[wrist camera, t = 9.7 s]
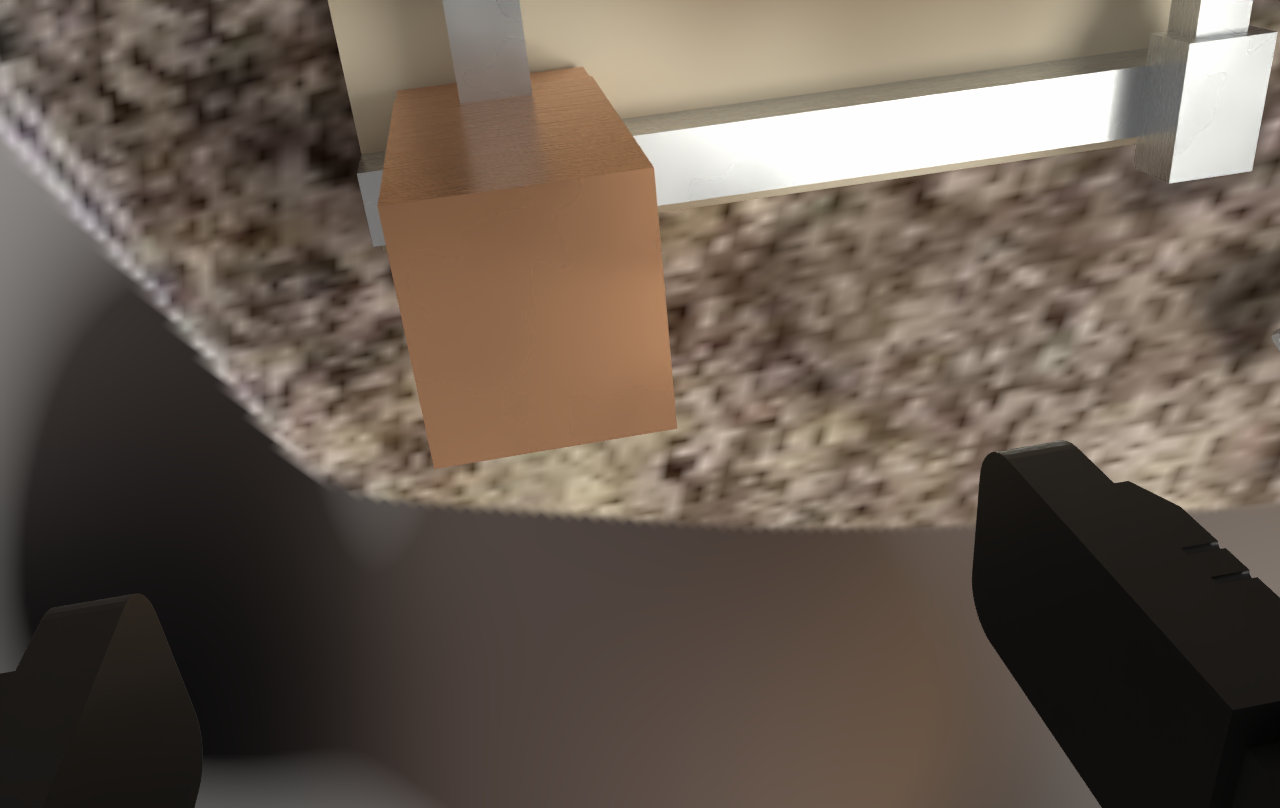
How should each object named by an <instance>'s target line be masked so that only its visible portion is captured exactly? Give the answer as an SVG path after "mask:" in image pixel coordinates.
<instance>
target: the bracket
mask: <svg viewBox="0 0 1280 808" xmlns="http://www.w3.org/2000/svg"><path fill="white" fill-rule="evenodd" d="M1271 338H1272V341H1273V343H1274V344H1275V346H1276V347H1277V348H1278V350H1279V351H1280V329H1278V330H1276V331H1275V332H1274V333H1273V335H1272V337H1271Z"/></svg>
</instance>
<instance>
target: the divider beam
mask: <svg viewBox="0 0 1280 808" xmlns="http://www.w3.org/2000/svg"><path fill="white" fill-rule="evenodd" d="M1252 3H1253V0H1172V2H1171V9H1170V16H1169V24H1168V31H1165V32H1157V33H1151V34H1150V42H1149V48H1145V49H1137V50H1130V51H1123V52H1115V53H1108V54H1100V55H1093V56H1085V57H1078V58H1071V59H1063V60H1056V61H1048V62H1041V63H1033V64H1026V65H1019V66H1011V67H1004V68H996V69H989V70H982V71H974V72H967V73H959V74H952V75H944V76H937V77H930V78H922V79H915V80H907V81H900V82H892V83H885V84H878V85H870V86H863V87H855V88H848V89H841V90H833V91H826V92H818V93H811V94H803V95H796V96H789V97H781V98H774V99H766V100H759V101H751V102H744V103H737V104H729V105H722V106H714V107H707V108H700V109H692V110H685V111H677V112H670V113H662V114H655V115H648V116H640V117H633V118H625V119H622V121H623V122H624V124H625V125H626V127H627V128H628V130H629V131H630V133H631V134H632V136H633V137H634V139H635V140H636V142H637V143H638V145H639V146H640V147H641V149H642V150H643V152H644V153H645V155H646V156H647V158H648V159H649V161H650V162H651V164H652V165H653V167H654V171H655V183H656V194H657V206H661V205H668V204H675V203H682V202H689V201H696V200H703V199H710V198H716V197H723V196H730V195H737V194H744V193H751V192H758V191H765V190H772V189H779V188H786V187H793V186H800V185H807V184H814V183H821V182H828V181H835V180H842V179H848V178H855V177H862V176H869V175H876V174H883V173H890V172H897V171H904V170H911V169H918V168H925V167H932V166H939V165H946V164H953V163H960V162H967V161H974V160H980V159H987V158H994V157H1001V156H1008V155H1015V154H1022V153H1029V152H1036V151H1043V150H1050V149H1057V148H1064V147H1071V146H1078V145H1085V144H1092V143H1099V142H1106V141H1112V140H1119V139H1126V138H1133V137H1137V141H1136V149H1135V156H1134V164H1133V167H1135V168H1137V169H1139V170H1141V171H1144V172H1146V173H1148V174H1150V175H1152V176H1154V177H1156V178H1159V179H1161V180H1163V181H1165V182H1167V183H1175V182H1181V181H1188V180H1195V179H1201V178H1208V177H1215V176H1222V175H1228V174H1235V173H1242V172H1248V171H1252V167H1253V162H1254V157H1255V151H1256V146H1257V141H1258V135H1259V130H1260V124H1261V119H1262V114H1263V108H1264V103H1265V97H1266V92H1267V87H1268V81H1269V76H1270V70H1271V65H1272V60H1273V54H1274V49H1275V43H1276V38H1277V33H1278V32H1276V31H1271V30H1267V29H1262V28H1258V27H1253V26H1249V20H1250V14H1251V9H1252ZM385 155H386V151H380V152H373V153H366V154H361V158H360V162H359V167H358V171H357V177H358V181H359V186H360V190H361V195H362V199H363V204H364V208H365V212H366V217H367V221H368V226H369V230H370V235H371V239H372V244H373V247H376V246H383V245H386V243H385V239H384V234H383V230H382V225H381V220H380V216H379V211H378V207H377V206H378V200H379V193H380V187H381V180H382V174H383V168H384V161H385Z"/></svg>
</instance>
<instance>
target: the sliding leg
mask: <svg viewBox="0 0 1280 808" xmlns="http://www.w3.org/2000/svg"><path fill="white" fill-rule="evenodd" d="M442 1H443V7H444V12H445V18H446V24H447V30H448V36H449V42H450V48H451V53H452V59H453V65H454V71H455V77H456V83H452V84H444V85H437V86H429V87H421V88H413V89H406V90H398V91H397V95H396V102H394V103H393V110H392V116H391V123H390V129H389V135H388V142H387V148H386V155H385V161H384V168H383V174H382V180H381V187H380V193H379V200H378V206H377V207H378V211H379V216H380V220H381V225H382V230H383V234H384V239H385V243H386V248H387V253H388V257H389V262H390V266H391V271H392V276H393V280H394V285H395V289H396V294H397V299H398V303H399V308H400V312H401V317H402V322H403V326H404V331H405V335H406V340H407V345H408V349H409V354H410V358H411V363H412V368H413V372H414V377H415V381H416V386H417V391H418V395H419V400H420V404H421V409H422V414H423V418H424V423H425V427H426V432H427V437H428V441H429V446H430V450H431V455H432V460H433V464H434V469H437V468H443V467H449V466H455V465H461V464H467V463H473V462H479V461H485V460H491V459H497V458H503V457H509V456H515V455H521V454H527V453H533V452H539V451H545V450H551V449H557V448H563V447H569V446H575V445H581V444H587V443H593V442H599V441H605V440H611V439H617V438H623V437H629V436H635V435H641V434H647V433H653V432H659V431H665V430H671V429H677V423H676V412H675V400H674V389H673V377H672V366H671V354H670V343H669V332H668V320H667V309H666V297H665V286H664V274H663V263H662V251H661V240H660V229H659V217H658V206H657V194H656V183H655V171H654V167H653V165H652V164H651V162H650V161H649V159H648V158H647V156H646V155H645V153H644V152H643V150H642V149H641V147H640V146H639V145H638V143H637V142H636V140H635V139H634V137H633V136H632V134H631V133H630V131H629V130H628V128H627V127H626V125H625V124H624V122H623V121H622V119H621V118H620V116H619V115H618V113H617V112H616V111H615V109H614V108H613V106H612V105H611V103H610V102H609V100H608V99H607V97H606V96H605V94H604V93H603V91H602V90H601V88H600V87H599V85H598V84H597V82H596V81H595V80H594V78H593V77H592V76H589V75H588V73H587V72H586V70H585V69H584V67H576V68H568V69H561V70H553V71H545V72H537V73H529V66H528V58H527V51H526V44H525V37H524V30H523V22H522V15H521V8H520V1H519V0H442Z"/></svg>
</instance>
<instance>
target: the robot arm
mask: <svg viewBox="0 0 1280 808" xmlns="http://www.w3.org/2000/svg"><path fill="white" fill-rule="evenodd" d="M972 589H973V597H974V602H975V606H976V610H977V614H978V617H979V620H980V623H981V625H982V628H983V630H984V632H985V634H986V636H987V638H988V640H989V641H990V643H991V644H992V646H993V647H994V649H995V650H996V652H997V653H998V655H999V656H1000V658H1001V659H1002V661H1003V662H1004V663H1005V665H1006V667H1007V668H1008V669H1009V671H1010V672H1011V674H1012V675H1013V677H1014V678H1015V680H1016V681H1017V683H1018V684H1019V686H1020V687H1021V688H1022V690H1023V692H1024V693H1025V695H1026V696H1027V698H1028V699H1029V701H1030V702H1031V704H1032V705H1033V706H1034V708H1035V709H1036V711H1037V712H1038V714H1039V715H1040V717H1041V718H1042V720H1043V721H1044V723H1045V724H1046V726H1047V727H1048V728H1049V730H1050V732H1051V733H1052V734H1053V736H1054V737H1055V739H1056V740H1057V742H1058V743H1059V745H1060V746H1061V748H1062V749H1063V751H1064V752H1065V754H1066V755H1067V757H1068V758H1069V760H1070V761H1071V763H1072V764H1073V766H1074V767H1075V769H1076V770H1077V771H1078V773H1079V775H1080V776H1081V777H1082V779H1083V780H1084V782H1085V783H1086V785H1087V786H1088V788H1089V789H1090V791H1091V792H1092V794H1093V795H1094V797H1095V798H1096V799H1097V801H1098V803H1099V804H1100V806H1101V807H1102V808H1280V598H1279V597H1278V596H1277V595H1276V594H1275V593H1274V592H1273V591H1272V590H1271V589H1270V588H1268V587H1267V586H1266V585H1265V584H1264V583H1263V582H1262V581H1261V580H1260V579H1259V578H1258V577H1257V578H1251V576H1250V574H1249V569H1248V568H1247V567H1246V566H1245V565H1243V564H1242V563H1241V562H1240V561H1239V560H1238V559H1237V558H1236V557H1235V556H1234V555H1232V554H1231V553H1230V552H1229V551H1228V550H1227V549H1226V548H1224V549H1220V548H1219V546H1218V541H1217V540H1216V539H1215V538H1214V537H1213V536H1211V534H1210V533H1208V532H1207V531H1206V530H1205V529H1204V528H1203V527H1202V526H1201V525H1200V524H1199V523H1197V522H1196V521H1195V520H1194V519H1193V518H1192V517H1191V516H1190V515H1189V514H1188V513H1187V512H1186V511H1184V510H1183V509H1182V508H1181V507H1180V506H1178V505H1176V504H1174V503H1172V502H1170V501H1168V500H1166V499H1164V498H1162V497H1160V496H1158V495H1156V494H1154V493H1152V492H1150V491H1148V490H1146V489H1144V488H1142V487H1140V486H1138V485H1136V484H1133V483H1131V482H1129V481H1126V482H1120V483H1113V482H1112V481H1111V480H1110V479H1109V478H1108V477H1107V476H1106V475H1105V474H1104V473H1103V472H1102V471H1101V470H1100V469H1099V468H1098V467H1097V466H1096V465H1095V464H1094V463H1093V462H1092V461H1091V460H1089V459H1088V458H1087V457H1086V456H1085V455H1084V454H1083V453H1082V452H1081V451H1080V450H1079V449H1078V448H1077V447H1076V446H1075V445H1073V444H1072V443H1070V442H1068V441H1057V442H1051V443H1045V444H1039V445H1034V446H1028V447H1022V448H1016V449H1010V450H1004V451H998V452H992V453H990V454H988V455H987V456H986V458H985V459H984V461H983V463H982V467H981V472H980V482H979V495H978V507H977V520H976V532H975V545H974V557H973V571H972ZM202 755H203V753H202V741H201V733H200V728H199V723H198V719H197V716H196V713H195V710H194V708H193V705H192V703H191V700H190V698H189V695H188V693H187V690H186V688H185V685H184V682H183V680H182V678H181V675H180V672H179V670H178V667H177V665H176V662H175V660H174V657H173V655H172V652H171V650H170V647H169V645H168V642H167V640H166V638H165V635H164V632H163V630H162V627H161V625H160V622H159V619H158V617H157V615H156V612H155V610H154V608H153V606H152V604H151V603H150V601H149V600H148V599H147V598H146V597H145V596H143V595H142V594H132V595H126V596H120V597H114V598H109V599H102V600H96V601H90V602H85V603H79V604H73V605H67V606H61V607H55V608H52V609H50V610H49V611H48V612H47V613H46V614H45V615H44V616H43V618H42V620H41V621H40V623H39V626H38V627H37V629H36V631H35V633H34V635H33V637H32V639H31V641H30V643H29V645H28V647H27V649H26V651H25V653H24V655H23V657H22V659H21V661H20V663H19V665H18V667H17V669H16V671H13V672H7V673H1V674H0V808H195V803H196V800H197V795H198V792H199V787H200V783H201V777H202V765H203V756H202Z"/></svg>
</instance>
